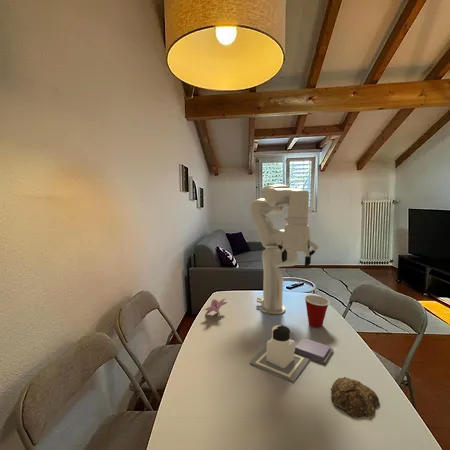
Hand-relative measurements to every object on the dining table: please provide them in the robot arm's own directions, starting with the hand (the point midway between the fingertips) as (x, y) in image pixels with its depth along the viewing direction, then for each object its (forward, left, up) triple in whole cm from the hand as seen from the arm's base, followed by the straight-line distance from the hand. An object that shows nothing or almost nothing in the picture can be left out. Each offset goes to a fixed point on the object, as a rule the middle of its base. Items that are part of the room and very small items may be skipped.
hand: (295, 263), depth 112 cm
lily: (-36, -5, -31) cm, 48 cm away
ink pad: (+11, -8, -30) cm, 33 cm away
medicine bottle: (+4, -21, -30) cm, 36 cm away
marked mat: (+4, -21, -30) cm, 37 cm away
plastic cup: (+5, +14, -31) cm, 34 cm away
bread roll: (+28, -25, -31) cm, 48 cm away
